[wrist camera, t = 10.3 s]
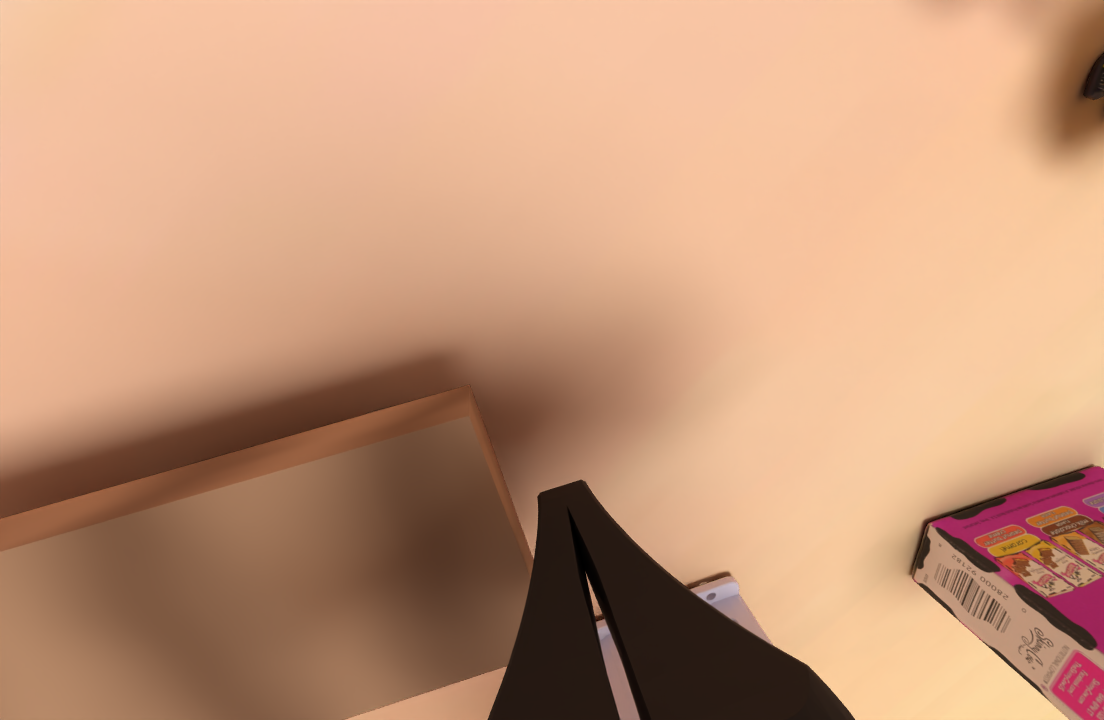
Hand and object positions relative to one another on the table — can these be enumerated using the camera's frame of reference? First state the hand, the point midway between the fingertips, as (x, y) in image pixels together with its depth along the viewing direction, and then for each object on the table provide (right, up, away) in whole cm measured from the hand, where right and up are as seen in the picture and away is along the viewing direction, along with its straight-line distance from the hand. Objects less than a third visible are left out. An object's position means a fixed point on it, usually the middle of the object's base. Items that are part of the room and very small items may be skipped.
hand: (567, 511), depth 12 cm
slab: (-9, -2, 0) cm, 10 cm away
